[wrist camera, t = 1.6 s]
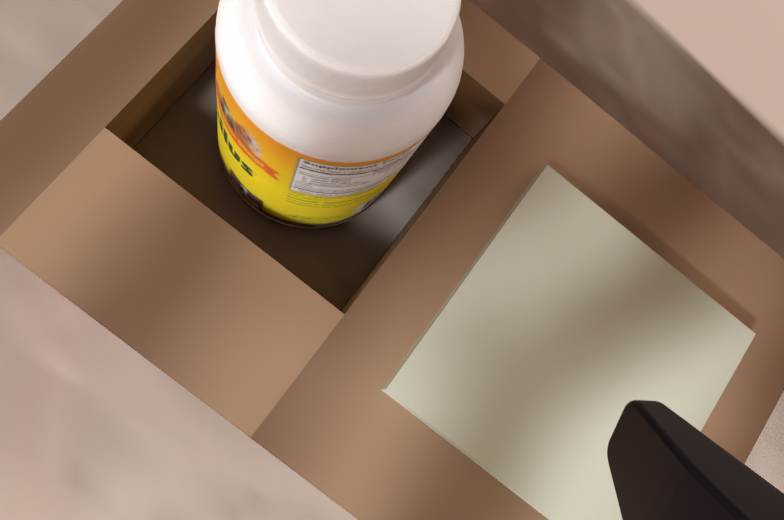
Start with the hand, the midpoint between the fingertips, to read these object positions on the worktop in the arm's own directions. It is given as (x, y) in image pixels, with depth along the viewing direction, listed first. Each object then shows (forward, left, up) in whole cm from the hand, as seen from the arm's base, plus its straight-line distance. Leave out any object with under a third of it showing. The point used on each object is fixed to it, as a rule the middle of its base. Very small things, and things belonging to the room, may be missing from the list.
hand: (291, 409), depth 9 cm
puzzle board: (-1, -6, -13) cm, 15 cm away
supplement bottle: (+4, -7, -14) cm, 16 cm away
